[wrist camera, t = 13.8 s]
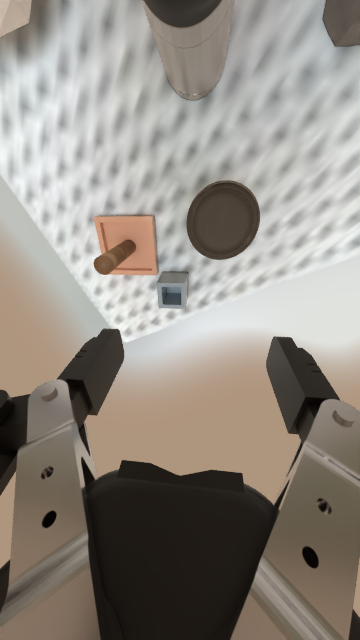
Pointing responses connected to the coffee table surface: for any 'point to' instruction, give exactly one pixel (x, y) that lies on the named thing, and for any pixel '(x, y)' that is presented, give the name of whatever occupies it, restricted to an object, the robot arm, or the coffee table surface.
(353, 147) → the coffee table surface
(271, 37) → the coffee table surface
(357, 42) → the coffeepot
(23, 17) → the geometric orb
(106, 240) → the tray
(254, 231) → the coffee can
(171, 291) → the holder
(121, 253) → the dowel
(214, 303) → the coffee table surface
